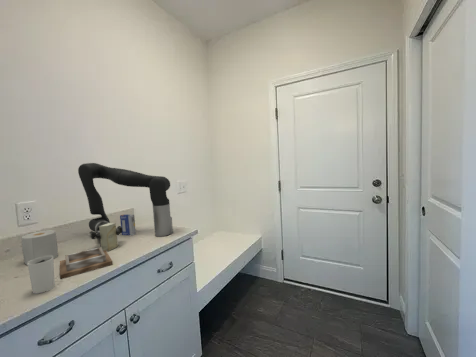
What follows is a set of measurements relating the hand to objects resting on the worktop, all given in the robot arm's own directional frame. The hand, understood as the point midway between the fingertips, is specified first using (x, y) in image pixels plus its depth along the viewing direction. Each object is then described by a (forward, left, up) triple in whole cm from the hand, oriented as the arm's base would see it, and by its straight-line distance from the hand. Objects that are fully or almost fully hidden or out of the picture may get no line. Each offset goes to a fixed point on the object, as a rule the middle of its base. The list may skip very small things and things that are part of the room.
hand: (109, 235), depth 112 cm
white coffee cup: (+24, +25, -8) cm, 35 cm away
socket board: (+11, +12, -7) cm, 18 cm away
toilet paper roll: (+26, -11, -8) cm, 29 cm away
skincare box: (0, -2, -7) cm, 8 cm away
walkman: (-13, -21, -8) cm, 26 cm away
